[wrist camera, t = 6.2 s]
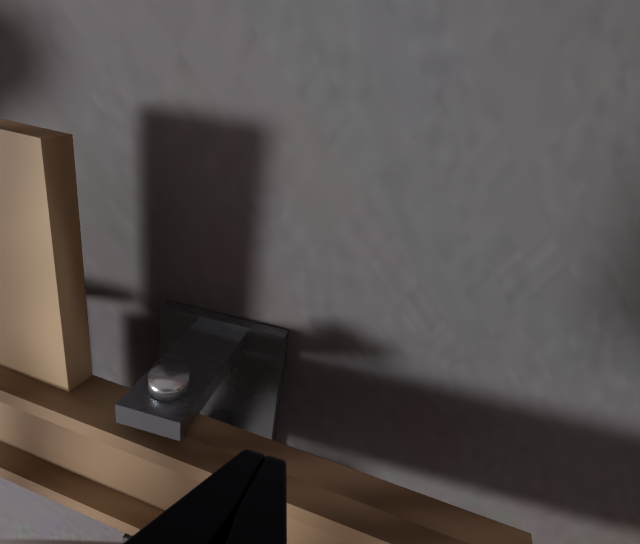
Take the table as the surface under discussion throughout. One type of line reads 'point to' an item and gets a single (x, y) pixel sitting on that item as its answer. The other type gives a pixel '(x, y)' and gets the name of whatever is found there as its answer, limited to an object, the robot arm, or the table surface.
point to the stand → (208, 375)
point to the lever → (101, 395)
